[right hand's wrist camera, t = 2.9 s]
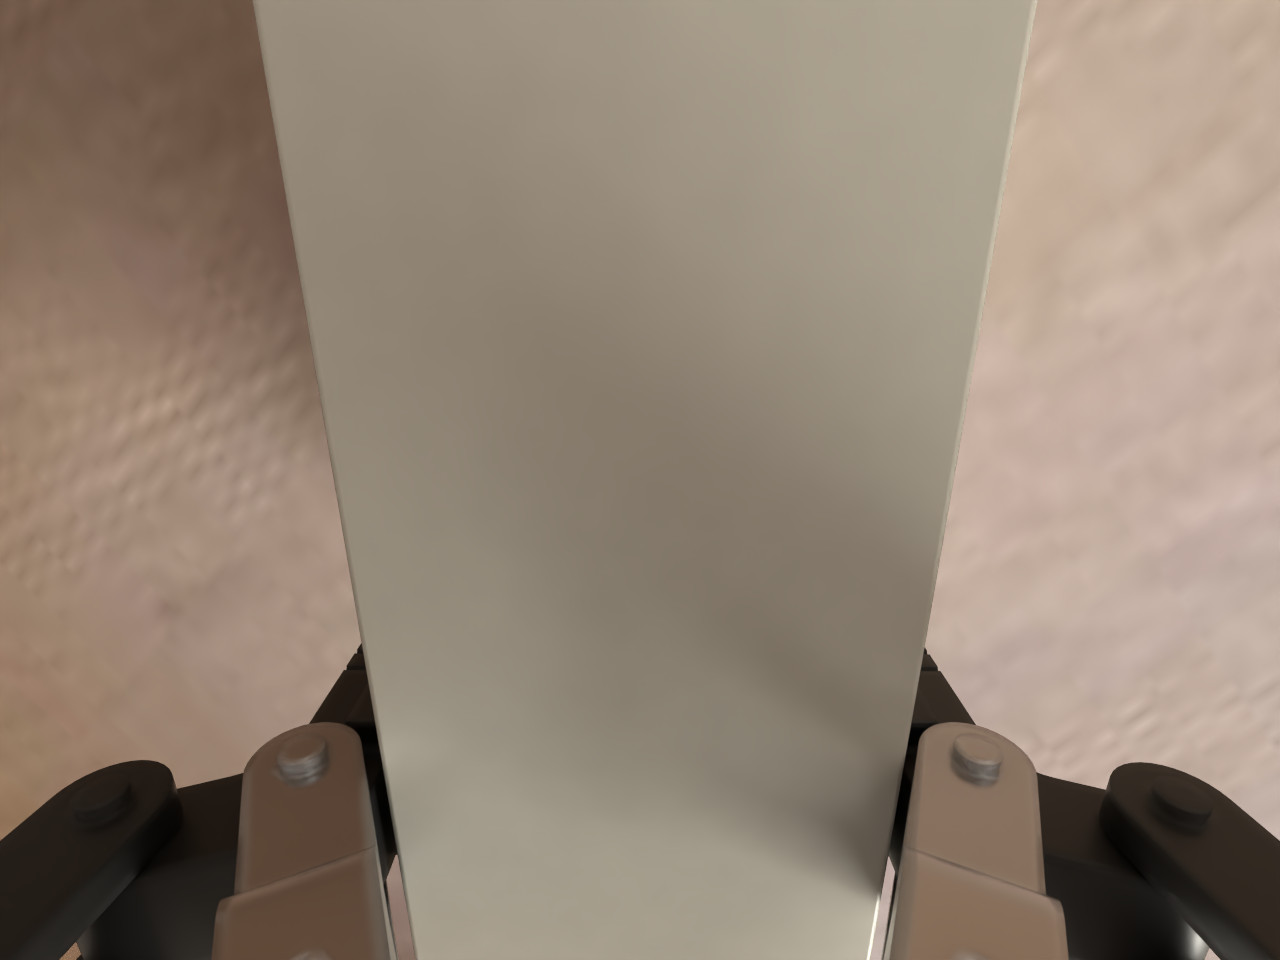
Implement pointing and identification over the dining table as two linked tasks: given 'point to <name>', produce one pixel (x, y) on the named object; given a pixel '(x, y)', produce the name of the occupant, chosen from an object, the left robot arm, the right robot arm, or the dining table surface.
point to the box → (643, 437)
